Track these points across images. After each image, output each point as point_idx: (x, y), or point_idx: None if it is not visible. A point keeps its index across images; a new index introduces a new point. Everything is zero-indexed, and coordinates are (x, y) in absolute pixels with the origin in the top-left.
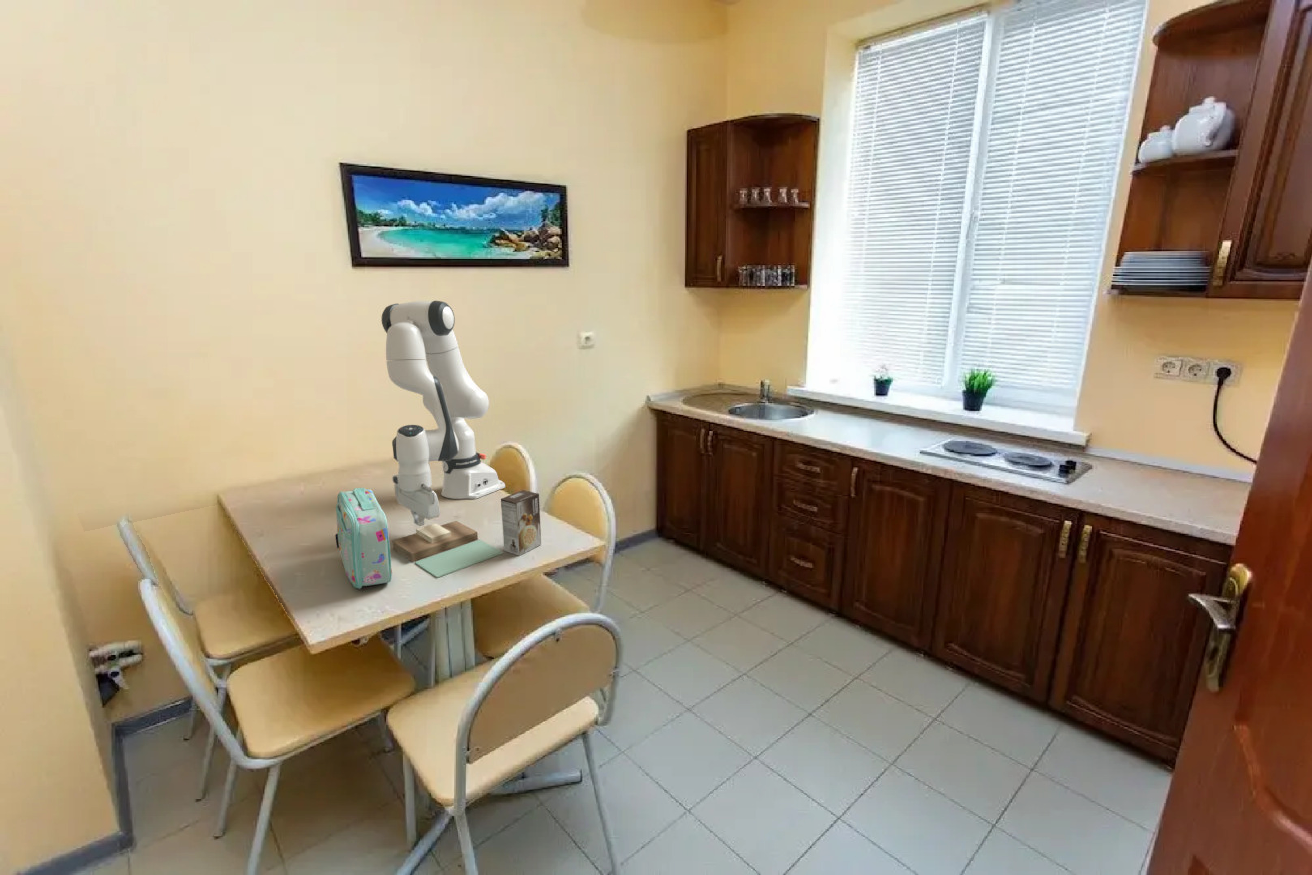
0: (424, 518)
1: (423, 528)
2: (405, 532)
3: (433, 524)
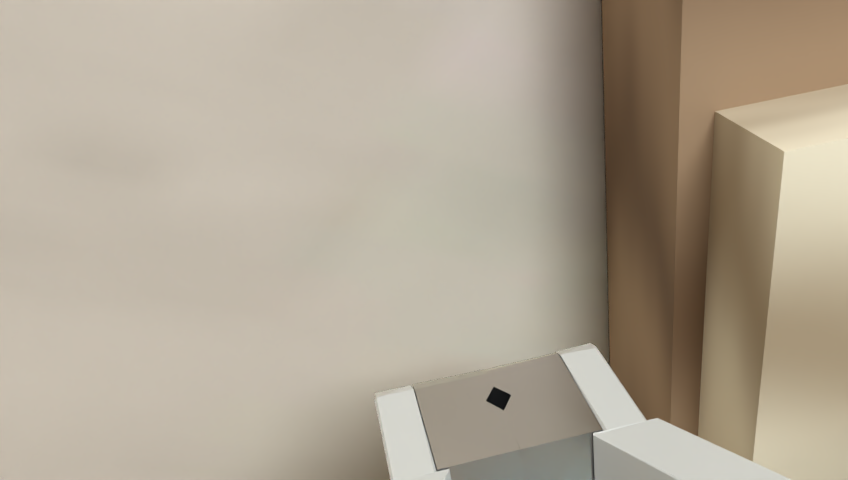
0: (695, 439)
1: (825, 413)
2: (180, 436)
3: (820, 209)
